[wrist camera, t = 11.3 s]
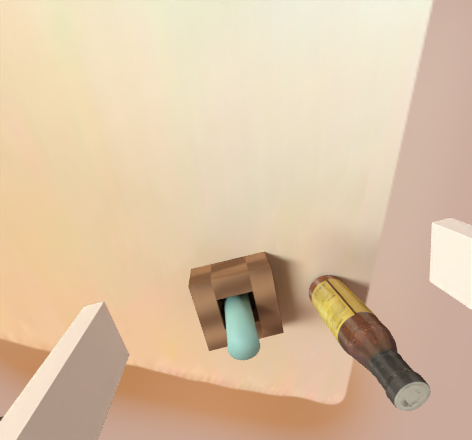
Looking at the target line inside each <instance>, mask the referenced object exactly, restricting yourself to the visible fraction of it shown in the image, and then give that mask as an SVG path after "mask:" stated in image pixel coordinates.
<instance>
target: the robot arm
mask: <svg viewBox="0 0 472 440" xmlns="http://www.w3.org/2000/svg"><path fill="white" fill-rule="evenodd" d="M430 282H431V283H433V284H434V285H436V286H437V287H439V288H440V289H442V290H443V291H445V292H446V293H448V294H449V295H451V296H452V297H453V298H455V299H457V300H458V301H459V302H461V303H462V304H464V305H465V306H467V307H468V308H470V309H471V310H472V225H470V224H467V223H464V222H461V221H458V220H456V219H453V218H448V219H443V220H439V221H435V222H432V235H431V259H430ZM128 357H129V353H128V351H127V349H126V347H125V345H124V342H123V340H122V338H121V336H120V334H119V332H118V330H117V328H116V325H115V323H114V321H113V319H112V317H111V315H110V313H109V311H108V308H107V306H106V304H105V302H99V303H95V304H91V305H87V306H84V308H83V309H82V310H81V312H80V313H79V314H78V316H77V317H76V319H75V320H74V321H73V323H72V324H71V325H70V327H69V328H68V329H67V331H66V332H65V334H64V335H63V336H62V338H61V339H60V340H59V342H58V343H57V345H56V346H55V347H54V349H53V350H52V351H51V353H50V354H49V356H48V357H47V358H46V360H45V361H44V362H43V364H42V365H41V366H40V368H39V369H38V371H37V372H36V373H35V375H34V376H33V377H32V379H31V380H30V381H29V383H28V384H27V386H26V387H25V389H24V390H23V391H22V392H21V394H20V395H19V397H18V398H17V399H16V401H15V402H14V403H13V405H12V406H11V408H10V409H9V410H8V412H7V413H6V415H5V416H3V417H0V440H98V438H99V436H100V433H101V430H102V428H103V425H104V422H105V419H106V417H107V414H108V411H109V408H110V405H111V403H112V400H113V398H114V395H115V392H116V390H117V387H118V384H119V381H120V379H121V376H122V373H123V370H124V368H125V365H126V362H127V360H128Z"/></svg>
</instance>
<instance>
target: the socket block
mask: <svg viewBox="0 0 472 440" xmlns="http://www.w3.org/2000/svg"><path fill="white" fill-rule="evenodd" d="M189 290H190V293H191V296H192V299H193V302H194V305H195V308H196V311H197V314H198V317H199V320H200V324H201V327H202V330H203V333H204V336H205V339H206V342H207V345H208V348H209V351H211V350H215V349H219V348H223V347H227V346H228V343H227V331H226V319H225V309H223V306H222V302H221V299H223V298H227V297H231V296H235V295H239V294H244V293H248V292H253V297H254V301H253V302H250V304H251V309H252V313H253V317H254V321H255V326H256V330H257V334H258V338H259V339H260V338H264V337H268V336H272V335H276V334H280V333H284V332H283V327H282V322H281V317H280V311H279V306H278V301H277V296H276V291H275V286H274V280H273V275H272V270H271V266H270V264H269V262H268V259H267V257H266V255H265V253H264V252H261V253H257V254H253V255H249V256H244V257H240V258H236V259H232V260H228V261H224V262H219V263H215V264H211V265H207V266H203V267H198V268H194V269H191V273H190V280H189Z"/></svg>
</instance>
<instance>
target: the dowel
mask: <svg viewBox="0 0 472 440" xmlns="http://www.w3.org/2000/svg"><path fill="white" fill-rule="evenodd" d="M224 306H225V319H226V331H227V343H228V352H229V354H230V355H231V356H232V357H233V358H235V359H238V360H247V359H250V358H252V357H254V356H255V355H256V354H257V353H258V351H259V349H260V343H259V338H258V334H257V330H256V326H255V321H254V317H253V313H252V309H251V304H250V300H249V296H248V293H244V294H239V295H235V296H231V297H227V298H224Z"/></svg>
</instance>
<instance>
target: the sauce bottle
mask: <svg viewBox="0 0 472 440" xmlns="http://www.w3.org/2000/svg"><path fill="white" fill-rule="evenodd" d="M309 297H310V300H311V301H312V303H313V305H314V307H315V308H316V310H317V311H318V313H319V314H320V316H321V317H322V319H323V320H324V322H325V323H326V325H327V326H328V328H329V329H330V330H331V332H332V333H333V335H334V336H335V338H336V339H337V341H338V342H339V344H340V345H341V347H342V348H343V349H344V350H345V351H346V352H347V353H348V354H349V355H350V356H352V357H353V358H354V359H356V360H357V361H358V362H359V363H361V364H362V365H363V366H364V367H365V368H367V369H368V370H369V371H370V372H371V373H372V374H373V375H374V376H375V377H376V378H377V380H378V381H379V383H380V384H381V385H382V387H383V388H384V389H385V391H386V394H387V397H388V398H389V399H390V400H391V402H392V403H393V404H394V406H395V407H396V408H398V409H400V410H405V411H410V410H415V409H417V408H418V407H420V406H421V405H422V404H423V403H424V402H425V401H426V400H427V399H428V397H429V396H430V387H429V385H428V384H427V383H426V381H425V380H424V379H423V378H422V377H421V376H420V375H419V374H418V373H416V372H414V371H413V370H412V369H411V368H410V367H409V366H408V364H407V363H406V362H405V361H404V360H403V359H402V357H401V356H400V354H398V353H397V347H396V343H395V340H394V338H393V337H392V335H391V333H390V331H389V330H388V329H387V328H386V327H385V326H384V325H383V324H382V323H381V322H380V321H379V320H378V318H377V317H376V316H375V315H374V314H373V313H372V312H371V311H370V310H369V309H368V307H367V306H366V305H365V304H364V303H363V302H362V301H361V300H360V299H359V298H358V297H357V296H356V295H355V294H354V293H353V292H352V291H351V290H350V289H349V288H348V287H347V286H346V285H345V284H344V283H343V282H341V281H340V280H339V279H337V278H336V277H334V276H322V277H319V278H317V279H316V280H315V281H314V282H313V283H312V285H311V286H310V288H309Z"/></svg>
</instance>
